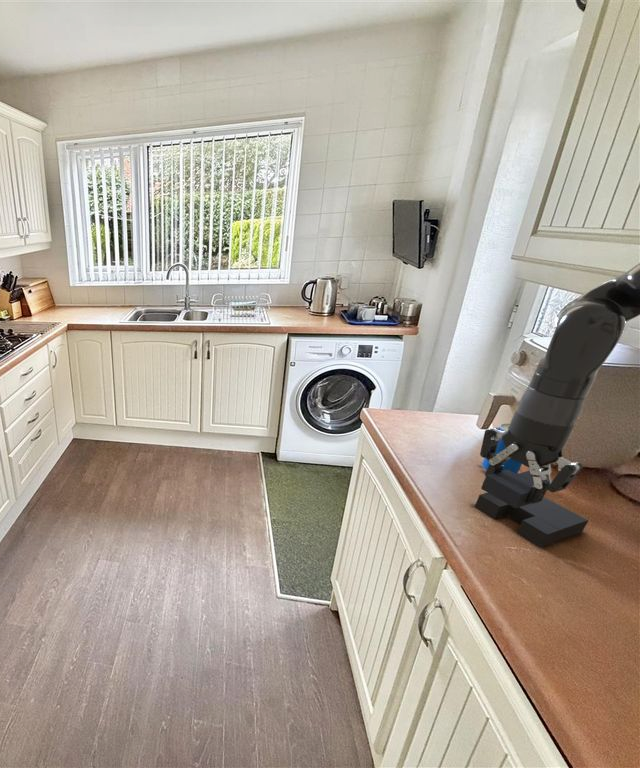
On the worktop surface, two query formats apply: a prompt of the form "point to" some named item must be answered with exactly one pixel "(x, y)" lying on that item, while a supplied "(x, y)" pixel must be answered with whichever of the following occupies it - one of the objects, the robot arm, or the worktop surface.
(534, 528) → the base pad
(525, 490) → the pad
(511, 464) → the beverage can
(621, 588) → the worktop surface
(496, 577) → the worktop surface
